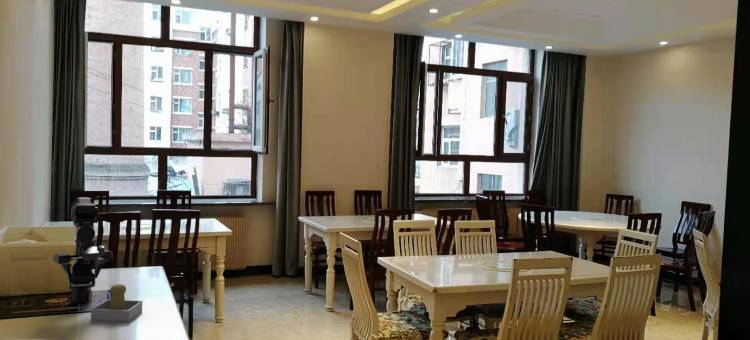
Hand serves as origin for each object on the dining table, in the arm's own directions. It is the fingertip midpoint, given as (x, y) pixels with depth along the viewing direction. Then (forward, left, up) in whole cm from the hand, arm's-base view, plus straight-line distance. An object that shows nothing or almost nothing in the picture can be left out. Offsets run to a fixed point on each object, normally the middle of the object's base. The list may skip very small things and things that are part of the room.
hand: (82, 279), depth 202 cm
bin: (+14, -4, -12) cm, 19 cm away
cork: (+14, -4, -12) cm, 19 cm away
